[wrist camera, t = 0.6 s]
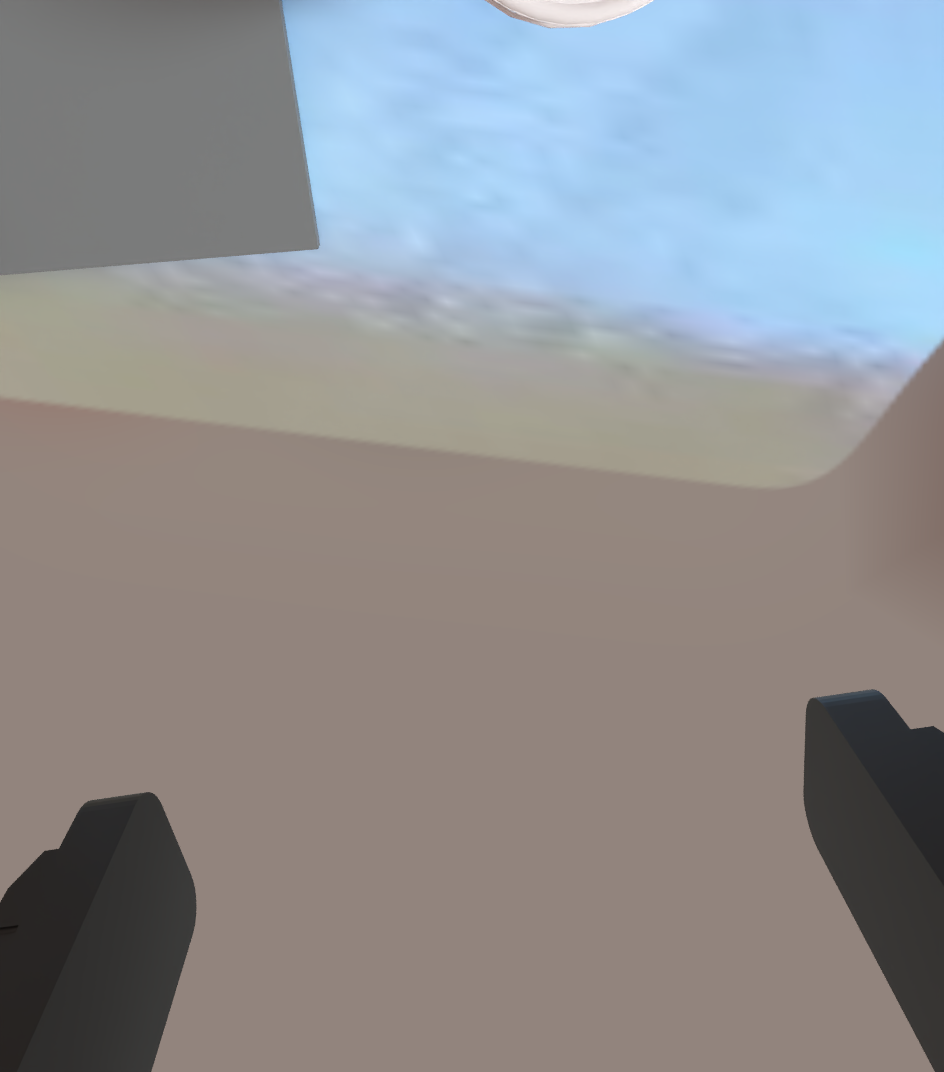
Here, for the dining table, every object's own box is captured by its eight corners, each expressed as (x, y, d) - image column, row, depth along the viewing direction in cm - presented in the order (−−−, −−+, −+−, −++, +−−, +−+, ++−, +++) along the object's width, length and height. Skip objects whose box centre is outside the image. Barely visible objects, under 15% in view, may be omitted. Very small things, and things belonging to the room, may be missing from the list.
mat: (-237, -209, 21) (-253, -215, 21) (243, -244, 21) (239, -250, 21) (-48, 274, 27) (-57, 279, 27) (319, 244, 28) (318, 249, 27)
